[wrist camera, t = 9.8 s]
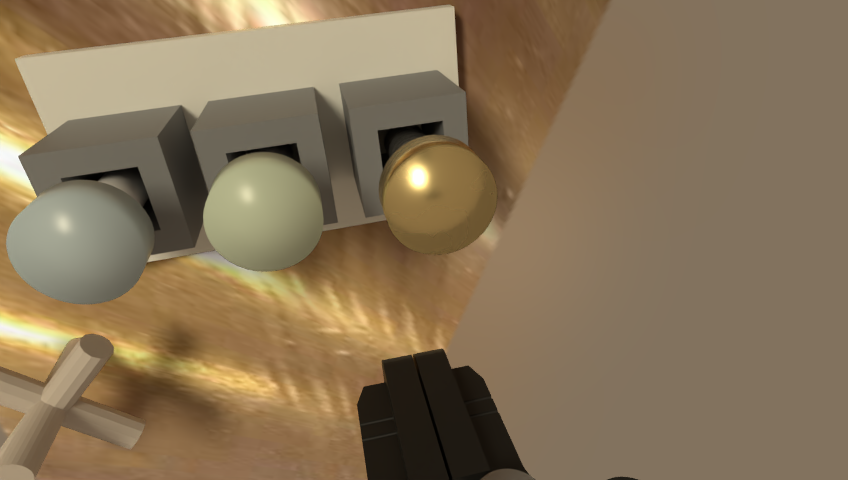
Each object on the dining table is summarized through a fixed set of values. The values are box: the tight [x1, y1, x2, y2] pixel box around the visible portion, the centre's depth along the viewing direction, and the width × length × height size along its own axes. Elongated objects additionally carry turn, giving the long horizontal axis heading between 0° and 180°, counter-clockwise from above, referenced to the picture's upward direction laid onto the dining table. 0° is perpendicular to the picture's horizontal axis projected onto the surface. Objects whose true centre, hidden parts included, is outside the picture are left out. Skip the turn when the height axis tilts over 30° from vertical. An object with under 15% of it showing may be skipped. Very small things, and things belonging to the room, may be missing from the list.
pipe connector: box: [0, 334, 146, 480], centre depth 31 cm, size 10×10×10 cm
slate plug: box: [6, 167, 155, 304], centre depth 24 cm, size 5×5×8 cm
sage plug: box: [203, 144, 324, 271], centre depth 25 cm, size 5×5×8 cm
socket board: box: [15, 5, 468, 262], centre depth 28 cm, size 12×22×7 cm, turn 95°
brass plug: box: [379, 125, 497, 255], centre depth 25 cm, size 5×5×8 cm
